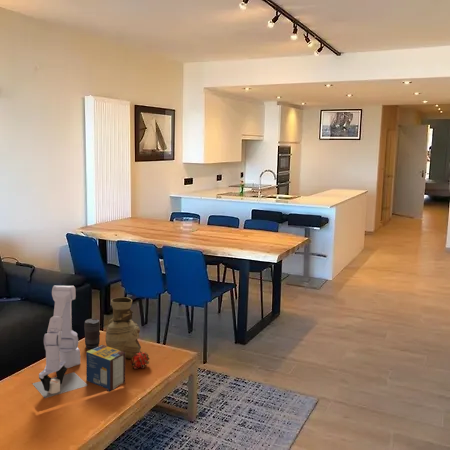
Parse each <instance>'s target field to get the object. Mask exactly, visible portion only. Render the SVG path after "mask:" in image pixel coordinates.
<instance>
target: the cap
mask: <svg viewBox="0 0 450 450" xmlns="http://www.w3.org/2000/svg"><path fill="white" fill-rule="evenodd" d="M59 391H60V380H59V379H51V381H50V389H49V391H48V393H51V394H54V393H58V392H59Z"/></svg>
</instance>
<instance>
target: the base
mask: <svg viewBox="0 0 450 450" xmlns="http://www.w3.org/2000/svg"><path fill="white" fill-rule="evenodd" d="M51 379H57V376H54V377H51ZM31 384H32V385H33V386H34V388H35V389H36V390H37V391H38V392H39V394H40V395H41V396H42V397H43V399H47V398H51V397H53V396H58V395H61V394H64V393H68V392H71V391H74V390H78V389H81V388H84V387H87V386H89V385H88V384H87V383H86V382H85V381H84V380H83V379H82V378H81V377H80V376H79V375H78V374H77V373H76V372H74V371H72V372H70V373H65V374H64V377H63V381H62V384H60V391H59V392H58V393H54V394H51V393H48V391H45V390H44V386H43V384H42V382H41V380H40V381H37V382H33V383H31Z"/></svg>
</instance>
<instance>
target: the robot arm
mask: <svg viewBox="0 0 450 450" xmlns="http://www.w3.org/2000/svg"><path fill="white" fill-rule="evenodd" d="M51 297H52V300H53V301H54V309H53V316H51V317H50V318H49V323H48V327H47V331H46V332H47V333H44V336H43V346H44V350H45V366H44V369H43V370H41V372H39V373H38V379H39V380H40V381H41V382H42V384H43V386H44V390H45V391H49V389H50V381H51V378H52V377H51V376H49V375H50V374H54V373H55V374H56V377H57V379H59V380H60V384H62V381H63V377H64V375H65V374H66V372H67V370H68V369H69V368H72V367H75V366H79V365H81V350H80V348H79V347H78V346H79V337H78V335H79V334H78V333H77V332H76V331H74V330H73V327H72V326H73V325H72V323H73V322H72V321H73V320H72V319H73V318H72V316H73V315H72V312H73V311H72V310H73V309H72V301H74V300H76V297H77V295H76V287H75V286H74V285H57V284H56V285H53V286H52V289H51Z"/></svg>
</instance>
